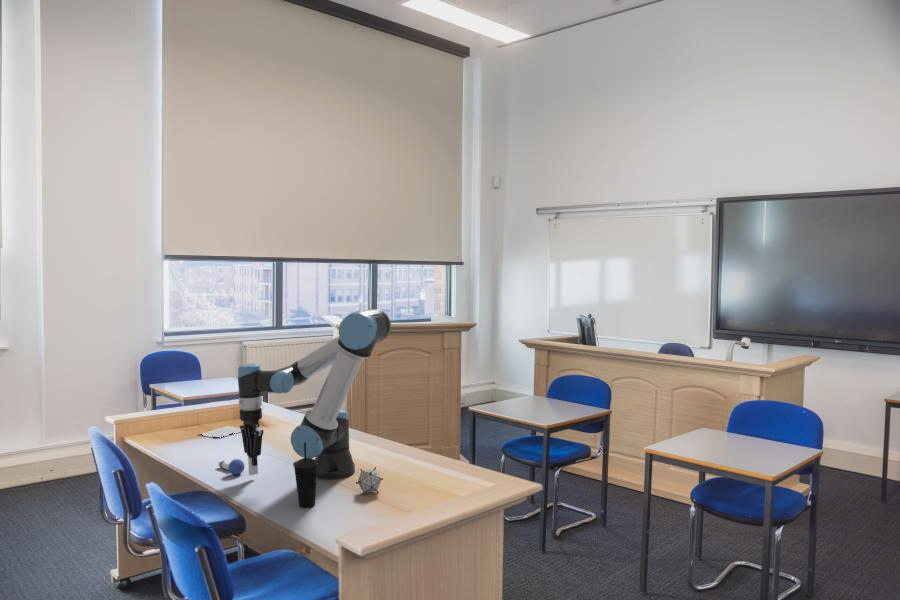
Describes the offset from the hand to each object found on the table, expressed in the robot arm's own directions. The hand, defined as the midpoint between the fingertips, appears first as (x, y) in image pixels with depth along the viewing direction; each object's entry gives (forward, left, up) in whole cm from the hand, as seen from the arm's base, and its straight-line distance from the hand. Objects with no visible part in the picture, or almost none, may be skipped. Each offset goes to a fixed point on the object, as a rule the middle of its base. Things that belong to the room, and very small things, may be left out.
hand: (253, 474), depth 236 cm
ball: (+10, 0, +1) cm, 10 cm away
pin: (+14, -1, -1) cm, 14 cm away
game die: (-44, -12, -2) cm, 46 cm away
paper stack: (+60, -30, -3) cm, 67 cm away
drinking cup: (-35, +6, -2) cm, 36 cm away
